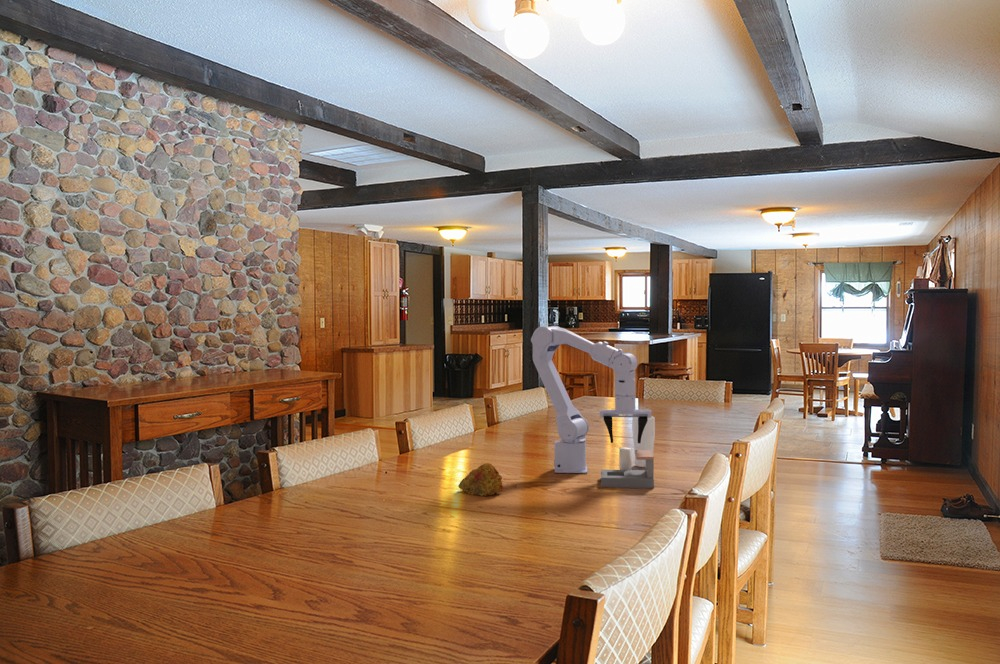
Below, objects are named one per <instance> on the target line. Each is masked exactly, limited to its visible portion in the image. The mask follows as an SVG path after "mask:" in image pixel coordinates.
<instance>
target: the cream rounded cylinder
mask: <svg viewBox="0 0 1000 664" xmlns="http://www.w3.org/2000/svg"><path fill="white" fill-rule="evenodd" d="M647 419H648V421H647V423H646V425H645V428H644V430H643V433H642V437H641V443H638V417H632V418H631V420H632V426H631V427H632V429H631V430H632V442H633V451H634V465H635V466H636V467H637V468H646V460H637V459H636V455H635V450H651V451H652V454H653V455H654V448H655V447H654V445H655V436H656V435H655V434H656V433H655V432H656V419H655V416H653V415H651V418H647Z"/></svg>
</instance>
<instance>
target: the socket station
mask: <svg viewBox="0 0 1000 664" xmlns="http://www.w3.org/2000/svg"><path fill="white" fill-rule="evenodd" d="M635 455H636V459H637V460H646V467H645V470H644V469H643V470H640V469H639V470H638V469H632V470H620V469H600V487H601V488H629V489H631V488H632V489H633V488H637V489H640V488H641V489H654V488H655V478H654V474H655V473H654V465H655V463H654V460H655V459H654V453H653V454H652V451H651V450H635V454H634V456H635Z"/></svg>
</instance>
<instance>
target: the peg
mask: <svg viewBox="0 0 1000 664" xmlns="http://www.w3.org/2000/svg"><path fill="white" fill-rule="evenodd" d="M618 451H619V470H633V469H632V461H633V460H632V456H633V455H632V448H631V447H620V448H619V450H618Z"/></svg>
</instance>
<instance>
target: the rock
mask: <svg viewBox="0 0 1000 664" xmlns="http://www.w3.org/2000/svg"><path fill="white" fill-rule="evenodd" d="M502 479H503V476H502V475H500V473H499V471H498V470H497V468H496V467H495V466H493V465H492V463H490V462H487V463H484V464H481V465H479V466H478V467H477V468H476V469H472V470H471V471H469V473H468V474H467V475H466V476H465V477H464V478H463V479H462V480H461V481H460V482H459V483H458V485H457V486H458V489H460V490H462V491H463V492H466V493H467V494H468V495H471V494H474V495H477V496H481V497H487V496H493V495H495V493H499V492H502V491H503V490H504V485H503V481H502Z"/></svg>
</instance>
